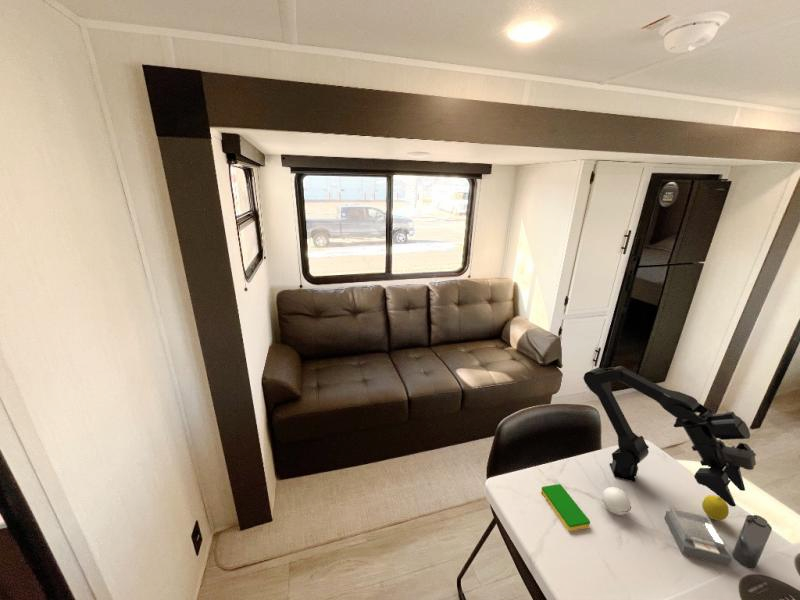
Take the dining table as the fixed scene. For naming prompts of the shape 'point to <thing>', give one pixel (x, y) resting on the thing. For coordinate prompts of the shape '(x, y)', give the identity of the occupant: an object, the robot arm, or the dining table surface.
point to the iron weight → (751, 541)
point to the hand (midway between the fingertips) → (738, 498)
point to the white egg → (616, 501)
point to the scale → (697, 536)
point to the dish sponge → (565, 507)
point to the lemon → (715, 507)
